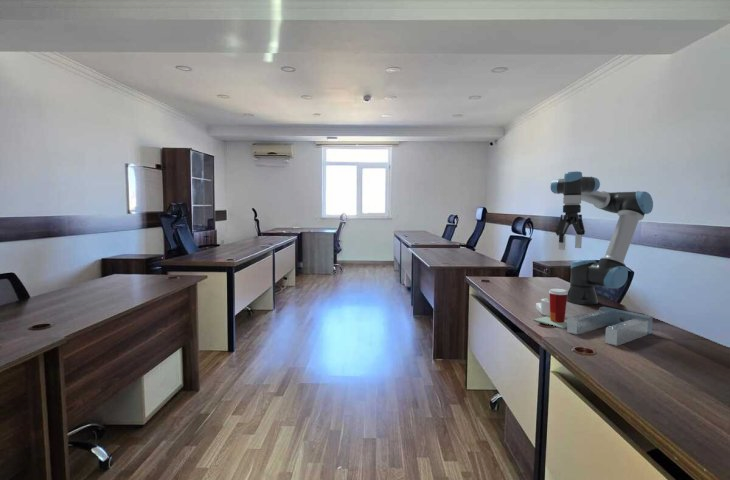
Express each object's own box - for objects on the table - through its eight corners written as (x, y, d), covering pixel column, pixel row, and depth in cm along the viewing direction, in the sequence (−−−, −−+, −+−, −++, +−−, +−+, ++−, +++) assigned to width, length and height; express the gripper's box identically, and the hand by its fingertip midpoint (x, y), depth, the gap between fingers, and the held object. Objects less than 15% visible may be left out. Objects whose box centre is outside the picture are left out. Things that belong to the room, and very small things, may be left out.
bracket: (563, 316, 178) (563, 302, 178) (542, 315, 180) (543, 301, 180) (553, 307, 197) (553, 294, 197) (535, 306, 199) (535, 294, 199)
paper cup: (569, 320, 172) (570, 290, 171) (564, 324, 167) (565, 292, 166) (550, 317, 178) (551, 287, 176) (545, 320, 172) (546, 290, 171)
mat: (552, 316, 182) (552, 314, 182) (581, 323, 170) (581, 322, 170) (533, 320, 174) (533, 319, 174) (563, 328, 163) (563, 327, 162)
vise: (612, 318, 177) (613, 304, 176) (661, 329, 161) (662, 313, 160) (566, 332, 158) (567, 315, 157) (616, 346, 142) (617, 327, 141)
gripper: (578, 204, 192) (577, 246, 194) (548, 204, 179) (547, 249, 181) (594, 204, 186) (592, 248, 187) (564, 204, 173) (562, 250, 174)
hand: (570, 248), depth 184 cm, fingers open, 13 cm apart
